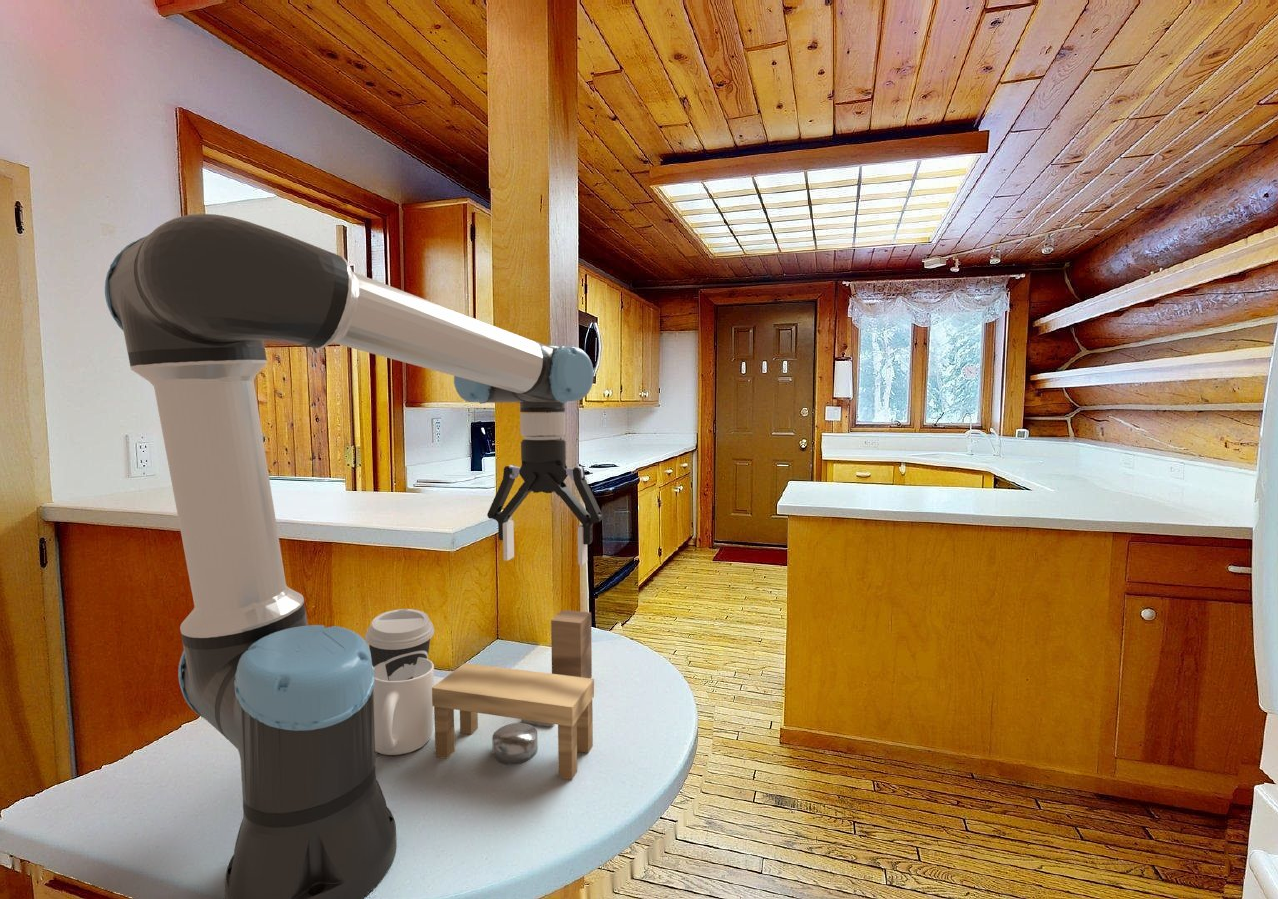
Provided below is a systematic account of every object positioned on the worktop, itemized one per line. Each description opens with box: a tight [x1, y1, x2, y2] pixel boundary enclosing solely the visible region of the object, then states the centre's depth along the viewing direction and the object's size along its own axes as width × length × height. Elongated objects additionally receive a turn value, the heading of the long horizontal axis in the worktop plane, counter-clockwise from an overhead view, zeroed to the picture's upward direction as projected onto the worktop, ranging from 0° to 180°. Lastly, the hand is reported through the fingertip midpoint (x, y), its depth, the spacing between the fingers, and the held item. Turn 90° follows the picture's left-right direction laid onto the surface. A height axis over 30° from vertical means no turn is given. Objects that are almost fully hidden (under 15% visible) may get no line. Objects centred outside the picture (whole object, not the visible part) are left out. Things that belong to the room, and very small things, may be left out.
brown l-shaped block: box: [521, 609, 593, 728], centre depth 94 cm, size 17×5×12 cm, turn 165°
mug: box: [373, 657, 435, 756], centre depth 80 cm, size 12×8×10 cm
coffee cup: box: [364, 608, 435, 681], centre depth 88 cm, size 10×10×15 cm
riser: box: [432, 662, 595, 781], centre depth 80 cm, size 8×20×10 cm, turn 75°
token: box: [491, 722, 539, 765], centre depth 80 cm, size 6×6×2 cm
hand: (545, 561), depth 101 cm, fingers open, 13 cm apart
